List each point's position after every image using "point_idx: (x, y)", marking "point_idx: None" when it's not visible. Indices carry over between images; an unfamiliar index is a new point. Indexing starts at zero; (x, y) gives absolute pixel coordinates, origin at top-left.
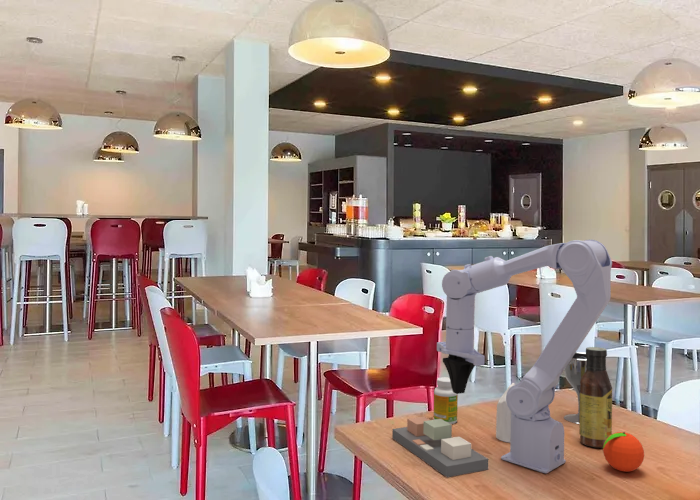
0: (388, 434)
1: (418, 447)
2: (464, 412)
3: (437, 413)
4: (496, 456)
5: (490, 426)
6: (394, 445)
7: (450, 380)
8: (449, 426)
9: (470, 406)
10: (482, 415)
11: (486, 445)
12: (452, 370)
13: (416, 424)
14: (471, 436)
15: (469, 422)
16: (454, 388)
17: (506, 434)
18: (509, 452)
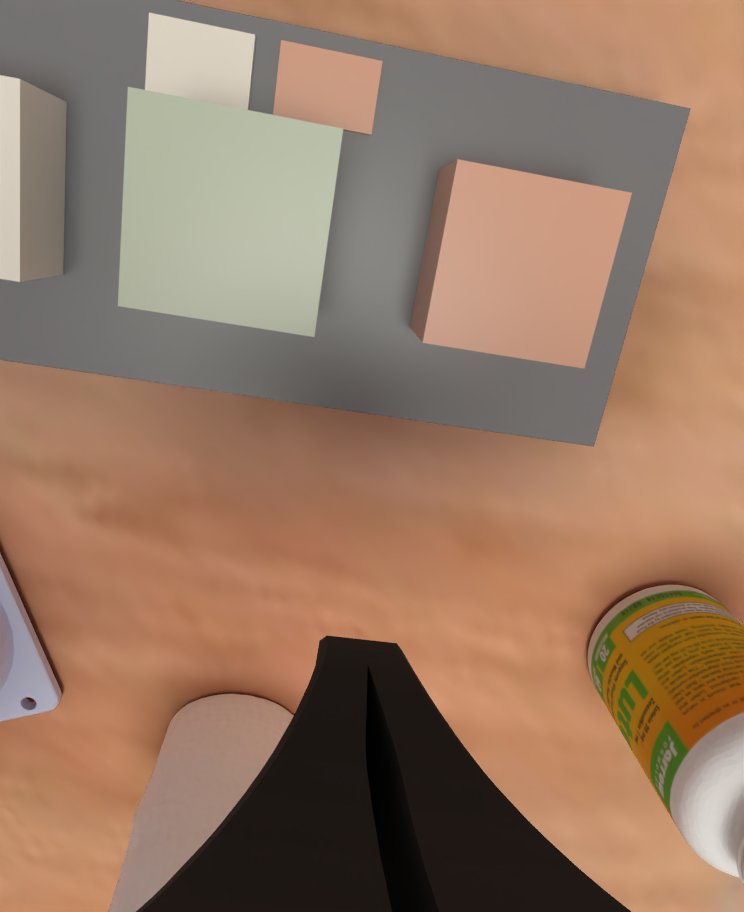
0: (730, 152)
1: (254, 18)
2: None
3: (693, 616)
4: (37, 513)
5: None
6: (539, 36)
7: (441, 724)
8: (124, 280)
9: (724, 892)
10: (581, 856)
11: (208, 581)
12: (337, 854)
13: (467, 162)
14: (368, 604)
15: (546, 737)
16: (344, 662)
17: (180, 733)
18: (5, 592)
